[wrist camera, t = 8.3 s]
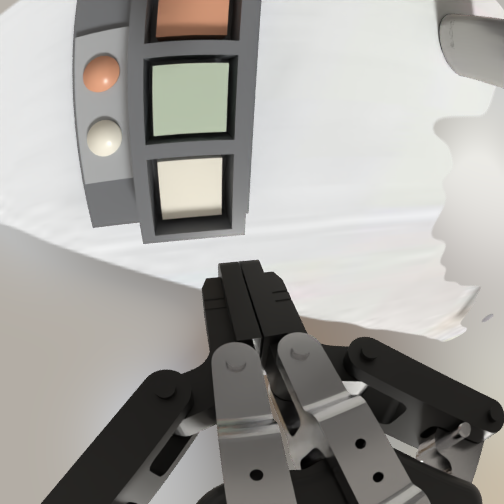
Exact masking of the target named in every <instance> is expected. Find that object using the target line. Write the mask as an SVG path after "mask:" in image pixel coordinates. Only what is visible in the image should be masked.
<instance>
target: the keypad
mask: <svg viewBox="0 0 504 504" xmlns="http://www.w3.org/2000/svg"><path fill="white" fill-rule="evenodd" d="M158 3H159V0H77V6H76V15H75V25H74V39H73V102H74V117H75V128H76V137H77V146H78V153H79V160H80V167H81V173H82V179H83V184H84V190H85V195H86V200H87V204H88V209H89V213H90V218H91V222H92V226H93V228H95V227H104V226H112V225H121V224H130V223H139V222H140V228H141V233H142V239H143V244H148V243H158V242H169V241H179V240H190V239H201V238H213V237H224V236H236V235H245V218H246V213H248V211H249V193H250V175H251V157H252V139H253V122H254V106H255V89H256V73H257V57H258V41H259V26H260V11H261V0H229V11H228V26H227V36H226V37H224V38H223V39H189V40H170V41H158V40H157V38H156V29H157V15H158ZM187 63H229V72H228V95H227V122H226V132H204V133H186V134H172V135H161V136H154V132H153V93H152V78H153V66H158V65H170V64H187ZM202 155H221V156H222V215H211V216H198V217H186V218H175V219H164V220H163V218H162V209H161V199H160V189H159V177H158V164H157V162H158V159H162V158H173V157H186V156H202Z"/></svg>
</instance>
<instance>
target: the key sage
mask: <svg viewBox="0 0 504 504" xmlns="http://www.w3.org/2000/svg"><path fill="white" fill-rule="evenodd" d="M228 72H229V63H187V64H170V65H158V66H153V78H152V93H153V132H154V136H161V135H172V134H186V133H204V132H226V122H227V95H228Z"/></svg>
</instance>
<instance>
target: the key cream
mask: <svg viewBox="0 0 504 504" xmlns="http://www.w3.org/2000/svg"><path fill="white" fill-rule="evenodd" d="M157 164H158V177H159V189H160V199H161V209H162V218H163V220H164V219H175V218H186V217H198V216H211V215H222V156H221V155H202V156H186V157H173V158H162V159H158V162H157Z"/></svg>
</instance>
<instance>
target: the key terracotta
mask: <svg viewBox="0 0 504 504" xmlns="http://www.w3.org/2000/svg"><path fill="white" fill-rule="evenodd" d="M228 11H229V0H159V3H158V15H157V29H156V38H157V40H158V41H170V40H189V39H223V38H224V37H226V36H227V26H228Z"/></svg>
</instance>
